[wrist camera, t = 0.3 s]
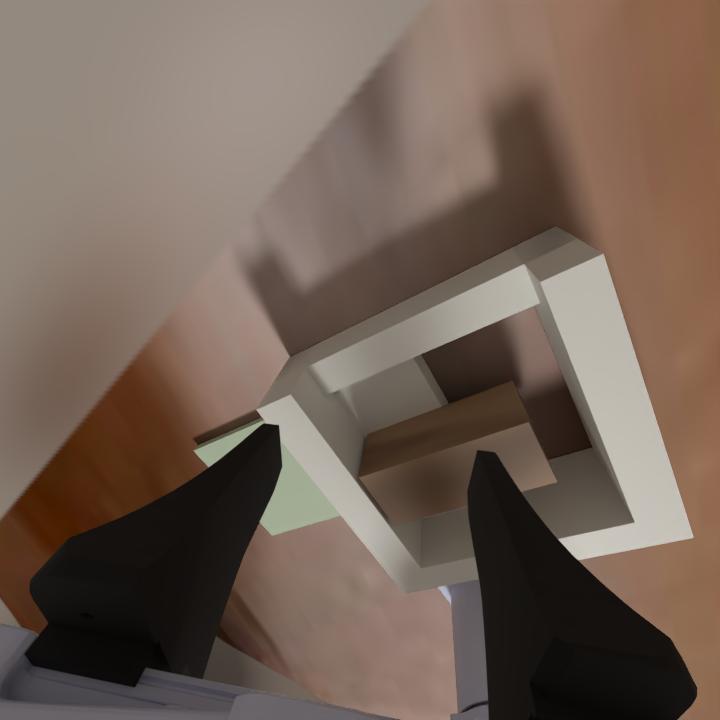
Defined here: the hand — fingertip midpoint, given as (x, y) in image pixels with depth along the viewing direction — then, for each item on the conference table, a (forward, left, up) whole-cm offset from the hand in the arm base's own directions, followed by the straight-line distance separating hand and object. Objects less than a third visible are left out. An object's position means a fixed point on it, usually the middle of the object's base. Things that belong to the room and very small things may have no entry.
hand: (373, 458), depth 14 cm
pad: (-6, +13, -10) cm, 18 cm away
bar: (-6, -1, -8) cm, 10 cm away
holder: (-6, -1, -10) cm, 12 cm away
